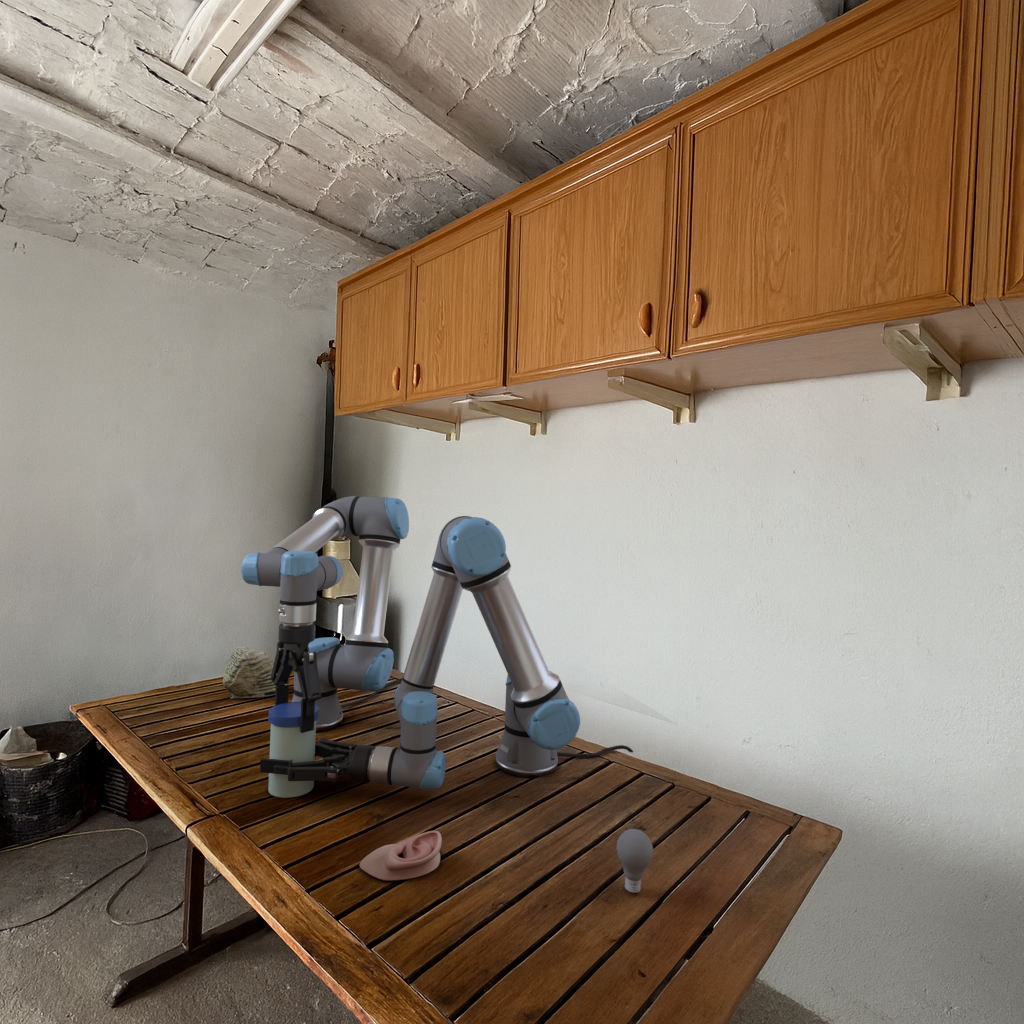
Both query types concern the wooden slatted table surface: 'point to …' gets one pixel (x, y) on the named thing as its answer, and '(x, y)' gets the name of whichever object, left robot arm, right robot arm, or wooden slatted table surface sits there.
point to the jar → (290, 758)
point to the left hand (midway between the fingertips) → (293, 722)
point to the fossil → (249, 674)
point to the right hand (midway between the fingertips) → (272, 755)
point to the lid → (288, 714)
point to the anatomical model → (405, 858)
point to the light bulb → (634, 857)
